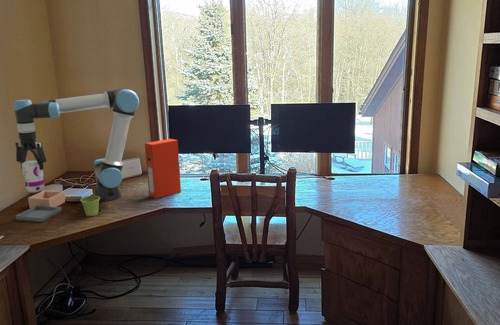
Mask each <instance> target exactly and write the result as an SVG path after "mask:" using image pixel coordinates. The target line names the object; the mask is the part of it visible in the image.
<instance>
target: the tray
mask: <svg viewBox="0 0 500 325" xmlns="http://www.w3.org/2000/svg"><path fill="white" fill-rule="evenodd" d="M62 212H63V211H62V207H61V206H57V207H50V206H35V207H33V208H29V209H27V210H24V211H23V212H20V213H19V214H16V215H15V219H16V221H24V222H34V223H44V222H45V221H48V220H50V219H51V218H53V217H54V216H56V215H58V214H60V213H62Z"/></svg>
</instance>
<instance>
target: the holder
mask: <svg viewBox="0 0 500 325" xmlns="http://www.w3.org/2000/svg"><path fill="white" fill-rule="evenodd" d="M27 199H28V200H27V201H28V206H29V209H31V208H33V207H35V206H50V207H60V206H61V205H62V204H64V203H66V202H65V199H66V192H65V191H60V190H59V191H58V190H42V191H39V192H37V193H35V194H34V195H32V196H31V195H30V196H29V197H27Z"/></svg>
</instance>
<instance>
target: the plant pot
mask: <svg viewBox="0 0 500 325" xmlns="http://www.w3.org/2000/svg"><path fill="white" fill-rule="evenodd" d="M99 199H100V197H99V196H95V195H89V196H85V197H82V198H80V202H81V204H82V206H83V209H84V213H85V217H95V216H97V215H98V214H99V202H100V201H99Z"/></svg>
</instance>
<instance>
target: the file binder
mask: <svg viewBox="0 0 500 325" xmlns="http://www.w3.org/2000/svg"><path fill="white" fill-rule="evenodd" d="M144 148H145V150H144V151H145V152H144V154H145V164H146V175H147V187H148V196H149V197H150V198H152V199H154V200H155V199H156V200H157V199H160V197H161V198H163V197H167V195H168V196H170V195H174V194H177V193H181V192H182V189H181V188H182V186H181V175H180V174H181V173H180V171H181V170H180V160H179V159H180V156H179V140H178V139H173V138H167V139H162V140H161V139H160V140H156V141H150V142H144Z"/></svg>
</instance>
